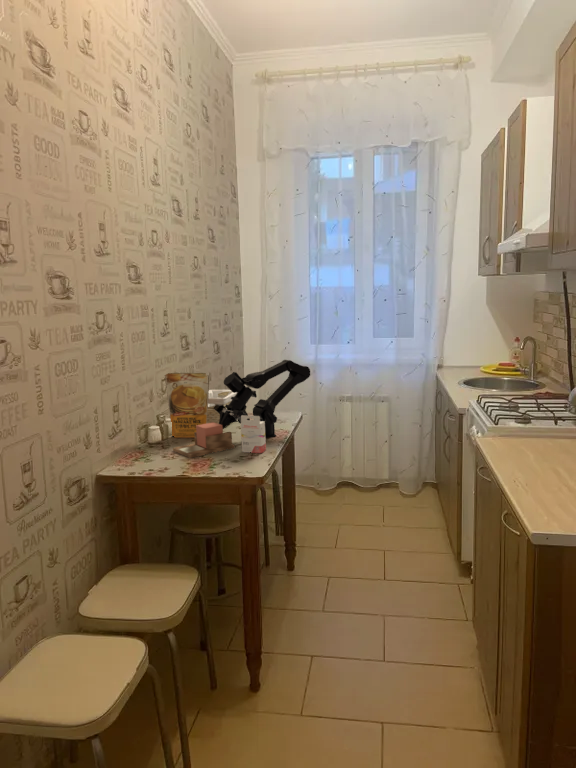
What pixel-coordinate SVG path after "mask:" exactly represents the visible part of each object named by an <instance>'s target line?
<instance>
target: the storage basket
mask: <svg viewBox="0 0 576 768" xmlns="http://www.w3.org/2000/svg"><path fill="white" fill-rule="evenodd" d="M236 394H237V392H235V393H233V392H232V391H231V390H230V389H209V399H208V411H207V423H212V422H214V423H217V424H219V420H220V414H219V413H218V412H217V411H216V410H215V409H214V407H215V405H217V404H220V405H223V406H224V407H225V406H226V405H229V403H230V402H231V401H232V399H231V397H234V396H235V395H236ZM219 396H222V397H219ZM225 408H226V407H225ZM226 409H227V408H226Z"/></svg>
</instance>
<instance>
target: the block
mask: <svg viewBox="0 0 576 768" xmlns="http://www.w3.org/2000/svg"><path fill="white" fill-rule="evenodd" d="M223 430H224V429H223V427H222V425H221V424H217V423H214V422H212V423H207V424H202V425H196V432H197V445H199V446H202V447H204V448H206V436H211V435H216V434H221V433H224V431H223Z"/></svg>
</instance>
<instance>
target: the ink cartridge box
mask: <svg viewBox="0 0 576 768" xmlns="http://www.w3.org/2000/svg"><path fill="white" fill-rule="evenodd" d="M249 418H250V420H247V419H249ZM240 433H241V434H240V435H241V436H240V437H241V451H242V453H250V452H251V453H252V454H262V453H264V452H266V451H267V443H266V442H267V440H266V438H267V437H266V438H265V421H260V416H254V415H248V416H245V415H242V416H241V424H240Z"/></svg>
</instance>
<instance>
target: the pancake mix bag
mask: <svg viewBox="0 0 576 768" xmlns="http://www.w3.org/2000/svg"><path fill="white" fill-rule="evenodd" d="M164 380H165V388H166V395H167V403H168V409H169V418H170V423H171V422H172V436H174V437H173V438H175V439H195V434H194V433H195V432H196V425H202V424H207V411H208V399H209V390H210V375H209V374H207V372H172V373H171V372H169V373H166V374H165V375H164Z"/></svg>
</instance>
